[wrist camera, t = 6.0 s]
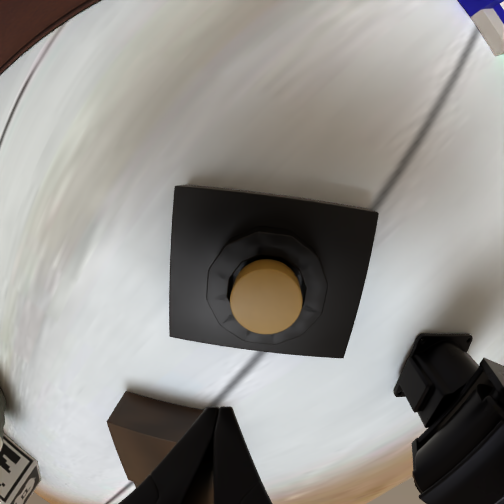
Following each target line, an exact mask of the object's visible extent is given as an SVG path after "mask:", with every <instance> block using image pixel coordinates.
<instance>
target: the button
mask: <svg viewBox="0 0 504 504" xmlns="http://www.w3.org/2000/svg"><path fill="white" fill-rule="evenodd" d="M302 303H303V300H302V293H301V289H300V285H299V281H298V279H297V276H296V275H295V273H294V272H293V271H292V269H291V268H289V267H288V266H287V265H286V264H284V263H282V262H280V261H277V260H272V259H261V260H257V261H254V262H251V263H249V264H248V265H246V266H245V267H244V268H243V269H242V270H241V271H240V272H239V274H238V275H237V277H236V280H235V283H234V286H233V288H232V291H231V295H230V307H231V311H232V313H233V315H234V317H235V319H236V320H237V321H238V322H239V323H240V324H241V325H242V326H243V327H244V328H246V329H248V330H249V331H252V332H255V333H258V334H274V333H278V332H281V331H283V330H285V329H287V328H288V327H290V326H291V325H292V324H293V323H294V322H295V321H296V320H297V318H298V316H299V315H300V312H301V309H302Z"/></svg>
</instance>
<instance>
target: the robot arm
mask: <svg viewBox="0 0 504 504" xmlns="http://www.w3.org/2000/svg"><path fill="white" fill-rule="evenodd" d="M422 339H423V340H422ZM467 339H468V340H467ZM421 340H422V341H421ZM471 342H472V336H471V335H470V334H426V333H423V334H420V335H419V336H418V337H417V338H416V341H415V343H414V346H413V348H412V351H411V353H410V356H409V358H408V360H407V362H406V364H405V367H404V369H403V371H402V374H401V376H400V378H399V380H398V383H397V385H396V387H395V389H394V394H395V396H396V397H406V398H407V400H408V402H409V404H410V405H411V407H412V409H413V411H414V412H418V414H419V416H420V418H421V420H422V422H423V424H424V426H425V428H428V427H429V428H428V429H427V430H426V431H425V432H424V433H423V434H422V435H421V436H420V437H419V438H416V439H415V440H414V441H413V442H412V452H413V478H414V482H415V486H416V487H417V489H418V491H419V492H420V493H421V494H420V495H419V498H420V499H421V500H422V501H424V502H425V503H426V504H504V366H502V365H500V364H498V363H495V362H493V361H491V360H488V359H486V358H483V360H482V361H481V362H480V366H479V365H478V364H477V363H476V362H475V361H474V360H473V359H472V357H471V356H470V355H469V354H468V353H467V351H468V349H469V346H470V344H471ZM399 391H400V392H399ZM119 504H272V502H271V500H270V498H269V496H268V494H267V492H266V490H265V488H264V486H263V483H262V482H261V479H260V477H259V474H258V472H257V470H256V467H255V465H254V462H253V460H252V458H251V455H250V453H249V450H248V448H247V445H246V443H245V440H244V438H243V435H242V432H241V430H240V427H239V425H238V422H237V419H236V417H235V414H234V411H233V409H232V407H220V408H219V407H207V408H205V410H204V411H203V412H202V413H201V415H200V416H199V417H198V418H197V419H196V421H195V422H194V423H193V424H192V426H191V427H190V428H189V429H188V430H187V432H186V433H185V434H184V435H183V436H182V438H181V439H180V440H179V441H178V442H177V443H176V445H175V446H174V447H173V448H172V449H171V450H170V452H169V453H168V454H167V455H166V456H165V457H164V459H163V460H162V461H161V462H160V463H159V464H158V465H157V466H156V468H155V469H154V470H153V471H152V472H151V475H148V476H147V477H146V479H145V480H144V481H143V482H142V483H141V484H140V485H139V486H138V487H137V488H136V489H135V490H134V491H133V492H132V493H131V494H129V495H128V496H127V497H126V498H125V499H124V500H122V501H121V502H120V503H119Z"/></svg>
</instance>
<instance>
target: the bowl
mask: <svg viewBox="0 0 504 504" xmlns="http://www.w3.org/2000/svg"><path fill="white" fill-rule="evenodd" d="M5 407H6V401H5V398H4V395H3V392H2V390H1V388H0V451H1V448H2V446H3V436H4V430H3V427H4V424H5V416H4V410H5Z"/></svg>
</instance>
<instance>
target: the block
mask: <svg viewBox="0 0 504 504" xmlns="http://www.w3.org/2000/svg"><path fill="white" fill-rule="evenodd" d="M40 481H41V476H40V471H39V466H38V461H36V460H35V459H34V458H32V457H31V456H30V455H29V454H27V453H26V452H25V451H24V450H23V449H21V448H20V447H19V446H18V445H17V444H15V443H14V442H13V441H12V440H11V439H10V438H9V437H7V436H6V435H5V434H4V436H3V446H2V448H1V451H0V503H1V504H26V503H27V501H28V500H29V498H30V497H31V495H32V493H33V492H34V490H35V489H36V487H37V486H38V484H39V482H40Z"/></svg>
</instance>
